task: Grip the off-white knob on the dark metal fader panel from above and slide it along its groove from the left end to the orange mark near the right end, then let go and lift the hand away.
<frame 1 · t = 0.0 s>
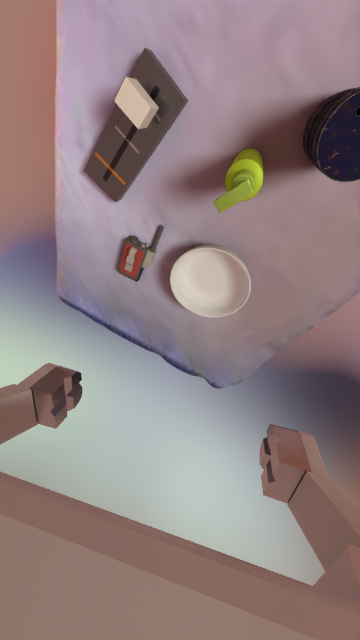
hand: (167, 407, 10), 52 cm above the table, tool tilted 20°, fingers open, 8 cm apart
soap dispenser: (245, 168, 47), on the table
storage jar: (334, 130, 40), on the table
serving bowl: (212, 272, 64), on the table
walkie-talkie: (141, 249, 65), on the table
fader knob: (140, 104, 39), point 7 cm above the table, slide at -7.0 cm
fader panel: (133, 138, 48), on the table
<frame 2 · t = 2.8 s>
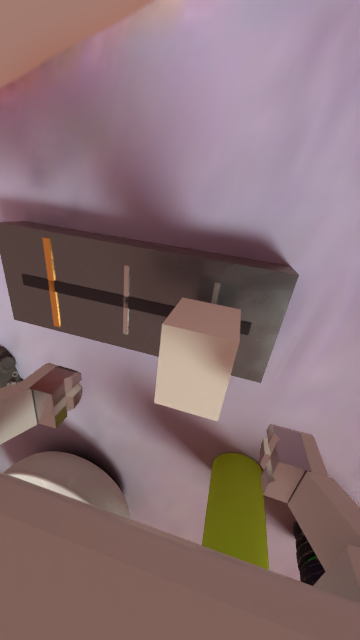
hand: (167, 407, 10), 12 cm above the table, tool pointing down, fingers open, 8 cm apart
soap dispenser: (232, 466, 28), on the table
storage jar: (335, 533, 28), on the table
serving bowl: (86, 476, 38), on the table
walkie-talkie: (9, 370, 33), on the table
fader knob: (202, 343, 15), point 7 cm above the table, slide at -7.0 cm
fader panel: (140, 291, 22), on the table
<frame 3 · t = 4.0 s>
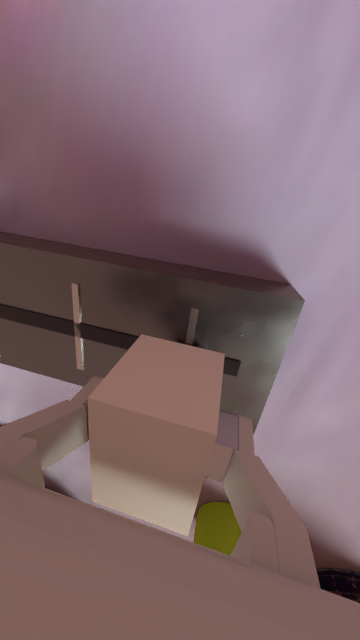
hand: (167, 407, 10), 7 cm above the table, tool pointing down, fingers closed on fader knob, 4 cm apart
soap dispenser: (221, 515, 24), on the table
storage jar: (342, 592, 24), on the table
fader knob: (171, 399, 10), point 7 cm above the table, slide at -7.0 cm, touching gripper
fader panel: (103, 312, 17), on the table
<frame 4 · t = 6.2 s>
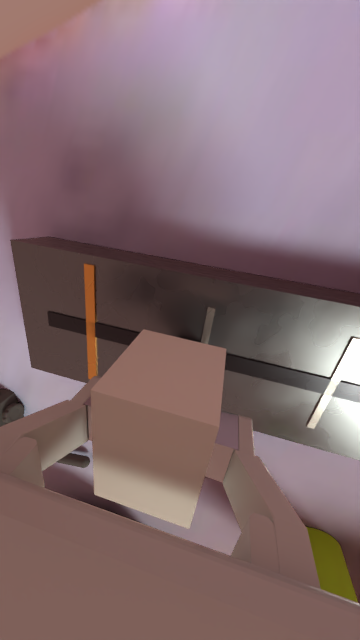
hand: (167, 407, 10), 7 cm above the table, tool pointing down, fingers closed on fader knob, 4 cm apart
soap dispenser: (300, 539, 23), on the table
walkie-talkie: (12, 414, 26), on the table
fader knob: (172, 394, 10), point 7 cm above the table, slide at 0.8 cm, touching gripper
fader panel: (207, 332, 16), on the table
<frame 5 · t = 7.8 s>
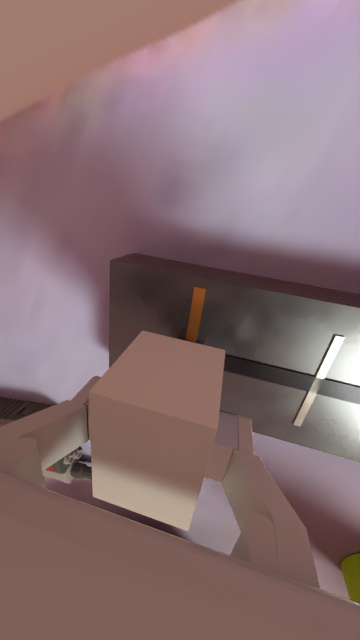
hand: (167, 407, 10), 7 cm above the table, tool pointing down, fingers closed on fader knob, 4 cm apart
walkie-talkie: (59, 431, 25), on the table
fader knob: (171, 395, 10), point 7 cm above the table, slide at 7.0 cm, touching gripper
fader panel: (301, 355, 15), on the table
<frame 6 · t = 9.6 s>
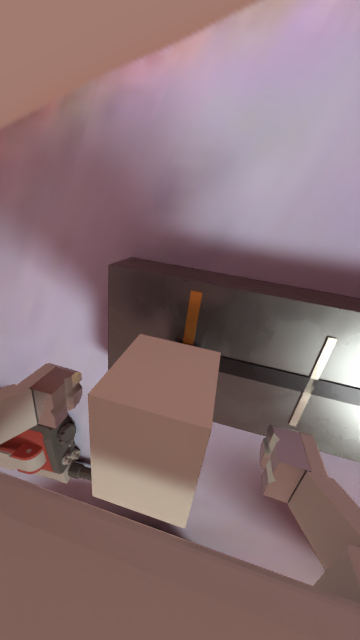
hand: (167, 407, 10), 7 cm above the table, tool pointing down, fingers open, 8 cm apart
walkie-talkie: (58, 431, 25), on the table
fader knob: (168, 397, 10), point 7 cm above the table, slide at 7.1 cm
fader panel: (297, 356, 15), on the table
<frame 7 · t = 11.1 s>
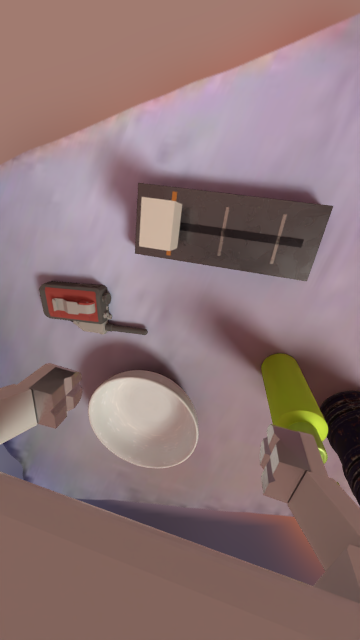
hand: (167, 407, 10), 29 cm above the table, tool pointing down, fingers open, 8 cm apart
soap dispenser: (276, 366, 40), on the table
storage jar: (349, 413, 40), on the table
serving bowl: (152, 400, 48), on the table
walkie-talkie: (98, 306, 43), on the table
fader knob: (164, 224, 28), point 7 cm above the table, slide at 7.1 cm
fader panel: (223, 231, 33), on the table
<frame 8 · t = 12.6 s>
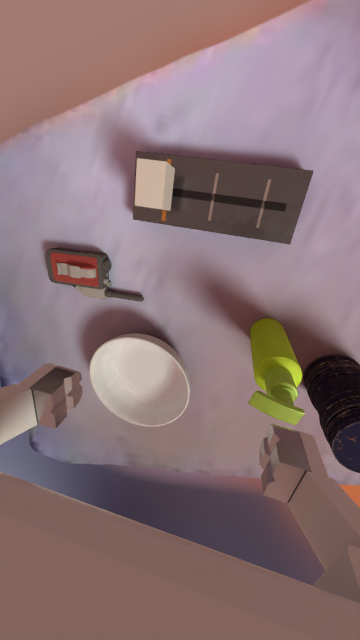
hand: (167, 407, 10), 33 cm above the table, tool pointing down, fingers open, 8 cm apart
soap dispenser: (263, 331, 42), on the table
storage jar: (331, 376, 43), on the table
serving bowl: (149, 365, 51), on the table
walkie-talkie: (99, 273, 46), on the table
fader knob: (158, 188, 31), point 7 cm above the table, slide at 7.1 cm
fader panel: (215, 199, 36), on the table
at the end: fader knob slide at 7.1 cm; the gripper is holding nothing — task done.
